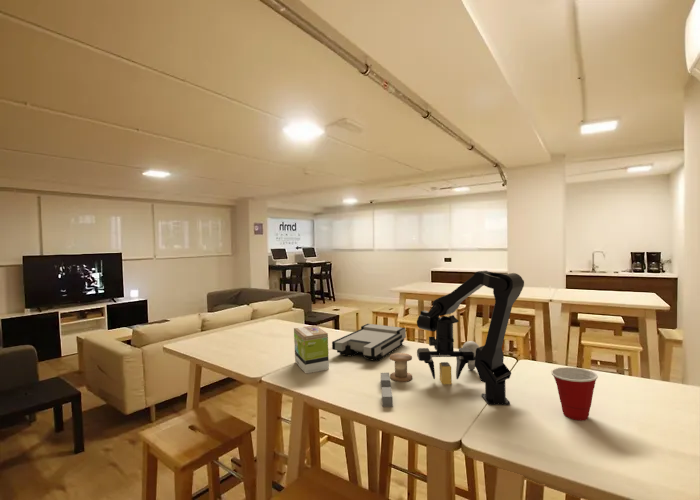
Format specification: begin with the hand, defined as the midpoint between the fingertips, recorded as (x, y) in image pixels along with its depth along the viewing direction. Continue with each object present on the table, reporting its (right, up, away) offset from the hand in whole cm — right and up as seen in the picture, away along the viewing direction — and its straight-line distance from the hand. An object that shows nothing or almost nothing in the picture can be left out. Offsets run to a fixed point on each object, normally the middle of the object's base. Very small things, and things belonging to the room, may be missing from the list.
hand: (445, 378), depth 119 cm
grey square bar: (-22, -2, -8) cm, 23 cm away
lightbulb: (+13, -1, +10) cm, 16 cm away
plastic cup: (+29, -1, -25) cm, 38 cm away
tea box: (-49, -2, +19) cm, 53 cm away
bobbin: (-15, -1, +5) cm, 16 cm away
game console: (-24, -2, +38) cm, 44 cm away
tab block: (0, -1, 0) cm, 1 cm away
